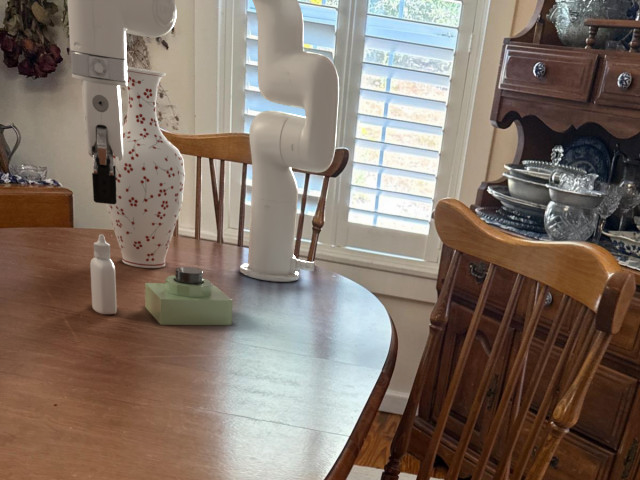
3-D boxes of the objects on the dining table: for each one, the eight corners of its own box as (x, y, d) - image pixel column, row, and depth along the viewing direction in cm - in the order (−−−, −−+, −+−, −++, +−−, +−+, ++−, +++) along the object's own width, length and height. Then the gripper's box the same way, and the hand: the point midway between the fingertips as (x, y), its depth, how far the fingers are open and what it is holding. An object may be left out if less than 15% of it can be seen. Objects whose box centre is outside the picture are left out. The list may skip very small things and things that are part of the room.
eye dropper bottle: (121, 307, 131) (119, 233, 125) (114, 316, 126) (112, 239, 120) (94, 304, 130) (91, 229, 124) (86, 313, 125) (82, 235, 119)
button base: (213, 308, 139) (214, 274, 136) (231, 325, 132) (233, 289, 129) (145, 307, 133) (144, 271, 130) (160, 324, 126) (160, 287, 123)
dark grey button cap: (197, 280, 132) (198, 267, 131) (205, 287, 129) (206, 274, 128) (172, 279, 130) (172, 266, 129) (179, 286, 127) (179, 273, 126)
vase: (172, 277, 154) (173, 75, 136) (90, 264, 153) (81, 59, 135) (192, 261, 168) (195, 77, 150) (117, 250, 167) (112, 62, 149)
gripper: (127, 77, 105) (132, 210, 114) (126, 71, 119) (130, 190, 128) (68, 68, 103) (77, 205, 112) (73, 63, 117) (81, 185, 125)
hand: (105, 197), depth 120 cm, fingers open, 9 cm apart
